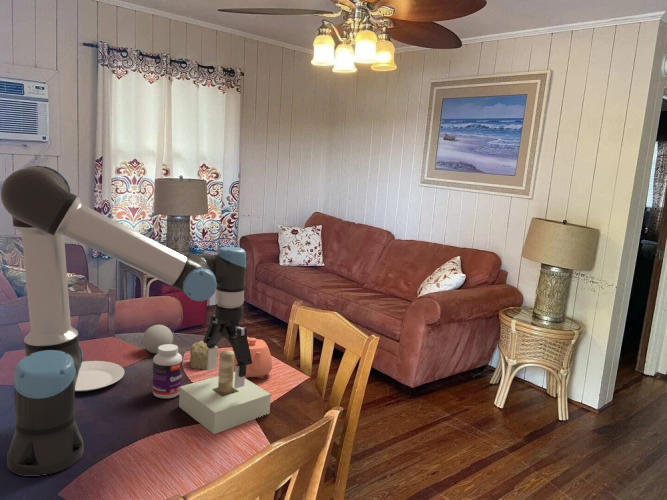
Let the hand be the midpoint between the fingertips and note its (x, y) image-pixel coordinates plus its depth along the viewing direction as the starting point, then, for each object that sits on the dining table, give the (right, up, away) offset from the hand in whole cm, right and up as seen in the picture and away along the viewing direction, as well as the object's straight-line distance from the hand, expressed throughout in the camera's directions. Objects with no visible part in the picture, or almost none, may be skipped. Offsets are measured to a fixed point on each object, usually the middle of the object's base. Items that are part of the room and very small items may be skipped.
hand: (225, 377), depth 142 cm
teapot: (+3, -6, +26) cm, 27 cm away
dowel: (0, -9, +2) cm, 9 cm away
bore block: (-1, -10, +2) cm, 10 cm away
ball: (-32, -1, +38) cm, 49 cm away
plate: (-44, -4, +12) cm, 46 cm away
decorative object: (-14, -3, +32) cm, 35 cm away
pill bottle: (-19, -7, +9) cm, 22 cm away
